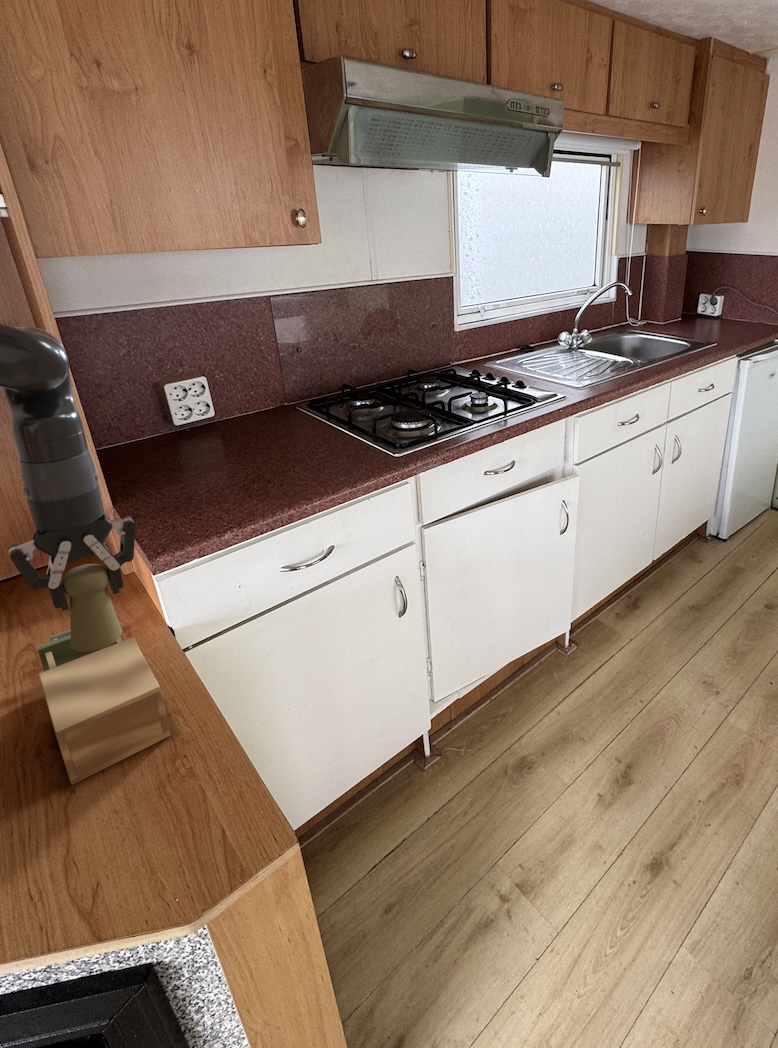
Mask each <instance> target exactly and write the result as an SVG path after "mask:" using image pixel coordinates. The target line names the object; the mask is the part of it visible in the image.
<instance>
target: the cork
mask: <svg viewBox="0 0 778 1048" xmlns="http://www.w3.org/2000/svg"><path fill="white" fill-rule="evenodd" d="M61 583H62V585H63V589H64V593H65V595H67V596H69V616H70V617H69V619H70V621H69V622H70V623H69V624H70V629H71V648H72V649H73V650H76V651H79V652H89V651H95V650H98V649H102V648H104V647H107V646H109V645H111V644H112V643H114V642H115V641H117V640H118V639H119V638H120V637H121V635H122V634H123V628H122V626H121V623H120V621H119V618H118V616H117V613H116V610H115V608H114V607H115V606H114V605H113V602H112V599H111V597H110V594H109V591H108V589H107V586H108V585H109V575H108V571H107V570H106V567H104V566H103V565H101V564H99V563H85V564H81V565H78V566H75V567H73V568H70V569H69V570H68V571H67V572H65V574H64V575H63V577H62V579H61ZM122 636H123V635H122Z"/></svg>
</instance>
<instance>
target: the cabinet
mask: <svg viewBox="0 0 778 1048" xmlns="http://www.w3.org/2000/svg"><path fill="white" fill-rule="evenodd" d="M38 676H39V680H40V684H41V687H42V690H43V694H44V698H45V701H46V704H47V708H48V712H49V715H50V719H51V723H52V727H53V730H54V732H55V738H56V740H57V743H58V746H59V749H60V753H61V756H62V759H63V763H64V766H65V769H66V773H67V775H68V779H69V781H70V785H71V786H73V785H75V784H77V783H79V782H81V781H83V780H85V779H87V778H90V777H91V776H93V775H95V774H97V773H99V772H101V771H103V770H105V769H107V768H109V767H111V766H113V765H115V764H117V763H119V762H121V761H123V760H126V759H127V758H130V757H131V756H133V755H135V754H138V753H139V752H141V751H143V750H145V749H147V748H149V747H151V746H153V745H155V744H157V743H159V742H161V741H163V740H165V739H167V738H169V737H171V731H170V726H169V722H168V718H167V713H166V708H165V704H164V699H163V694H162V690H161V687H160V684H159V682H158V680H157V679H156V677H155V675H154V673H153V671H152V670H151V667H150V665H149V664H148V662H147V660H146V659H145V657H144V654H143V653H142V651H141V649H140V647H139V645H138V643H137V641H136V639H135V637H130V638H128V639H125V640H123V641H122V642H119V643H117V644H114V645H112V646H109V647H106V648H104V649H101V650H99V651H96V652H93V653H91V654H88V655H86V656H83V657H81V658H78V659H75V660H73V661H70V662H68V663H65V664H62V665H60V666H57V667H55V668H52V669H49V670H47V671H44V670H43V671H41V672H40V673H38Z"/></svg>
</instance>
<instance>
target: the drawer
mask: <svg viewBox="0 0 778 1048" xmlns="http://www.w3.org/2000/svg"><path fill="white" fill-rule="evenodd" d="M49 638H50V641H48V642H45V643H43V644H39V645H38V646H37V645H36V649H37V653H38V656H39V660H40V662H41V666H42V670H43V672H44V671H47V670H49V669H52V668H55V667H57V666H60V665H62V664H65V663H68V662H70V661H73V660H75V659H78V658H81V657H83V656H86V655H88V654H91V653H93V652H96V651H99V650H101V649H98V650H95V651H89V652H79V651H76V650H73V649H72V648H71V628H70V629H67V630H64V631H62V632H58V633H56V634H53V635H50V636H49ZM122 641H124V638H123V635H121V637H120V638H119V639H118V640H117V641H115V642H114V643H112V644H111V645H109V646H112V645H114V644H117V643H119V642H122ZM109 646H107V647H109ZM104 648H106V647H104ZM104 648H102V649H104Z"/></svg>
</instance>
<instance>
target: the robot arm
mask: <svg viewBox="0 0 778 1048" xmlns="http://www.w3.org/2000/svg"><path fill="white" fill-rule="evenodd" d="M0 388H2V389H3V392H4V396H5V398H6V402H7V405H8V408H9V414H10V430H11V435H12V440H13V443H14V448H15V451H16V455H17V458H18V463H19V472H20V473H19V474H20V479H21V483H22V486H23V493H24V494H25V498H26V502H27V505H28V506H27V507H28V509H29V512H30V516H31V520H32V525H33V527H34V534H33V537H32V539H31V540H29V541H27V542H24V543H22V544H16V543H14V544H11V545H9V547H8V548H7V549H8V555H9V559H10V560H11V562H12V563H13V565H14V566H15V568H16V569H17V571H18V572H19V573H20V575H21V576H22V579H23V580H24V581H25V583H26V584H27V586H28V587H29V589H30V590H32V591H37V590H40V589H43V588H44V589H48V590H49V594H50V597H51V602H52V604H53V607H54V608H55V609H61V611H62V612H65V611H68V610H70V607H69V604H68V601H67V597H66V593H65V592H64V589H63V585H62V578H63V577H62V576H63V574H64V572H65V569H66V565H67V563H71V562H74V561H76V560H78V559H80V558H88V557H92V556H95V555H96V556H97V557H98V558H99V559H100V561H102V563H104V565H105V569H106V570H107V571H108V575H109V582H108V584H109V587H110V590H111V592H112V594H113V595H116V594H119V593H120V589H122V588H123V587H124V580H123V575H122V571H121V567H122V565H125V563H130V562H132V561H133V560H134V557H135V541H136V540H135V539H136V528H137V527H136V526H137V525H136V522H135V521H134V520H133V518H132V517H131V516H130V515H125V516H123V517H122V518H119V519H110V518H109V517H108V516H107V515H106V512H105V507H104V502H103V498H102V494H101V489H100V484H99V476H98V473H97V471H96V467H95V464H94V460H93V458H92V456H91V453H90V450H89V447H88V442H87V438H86V434H85V430H84V429H85V428H84V426H83V422H82V419H81V416H80V413H79V411H78V409H77V406H76V403H75V398H74V392H73V385H72V380H71V375H70V361H69V356H68V355H67V351H66V349H65V347H64V345H63V343H62V342H61V341H60V340H59V339H58V338H57V337H56V336H55V335H54V334H52V333H51V332H49V331H47V330H46V329H42V328H40V327H35V326H28V325H27V326H25V325H24V326H18V327H17V326H16V327H13V326H10V325H7V324H4V323H1V322H0ZM112 530H115V532H116V534H117V535H118V536H120V539H119V551H118V552H116V553H115V554H113V552H112V551H111V550H110V549H109V548H108V547H107V546H106V544H105V541H106V540H107V538H108V536H109V535H110V533H111V531H112ZM36 549H37V550H39V551H41V552H43V553H44V554H45V555H47V556H49V559H48V567H47V569H46V574H39V573H38V571H36V569H35V567H34V565H33V564H32V563H31V561H32V560H33V558H34V551H35V550H36Z"/></svg>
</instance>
